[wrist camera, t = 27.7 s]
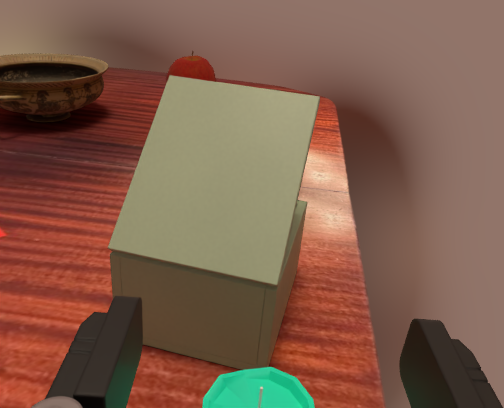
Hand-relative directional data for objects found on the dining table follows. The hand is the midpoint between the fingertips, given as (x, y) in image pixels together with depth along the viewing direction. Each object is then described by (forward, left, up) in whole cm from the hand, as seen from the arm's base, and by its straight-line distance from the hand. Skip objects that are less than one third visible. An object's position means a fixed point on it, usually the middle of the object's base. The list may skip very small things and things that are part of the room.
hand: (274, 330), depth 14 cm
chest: (+21, -18, -21) cm, 35 cm away
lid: (+20, -16, -7) cm, 27 cm away
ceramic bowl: (+84, -30, -21) cm, 91 cm away
